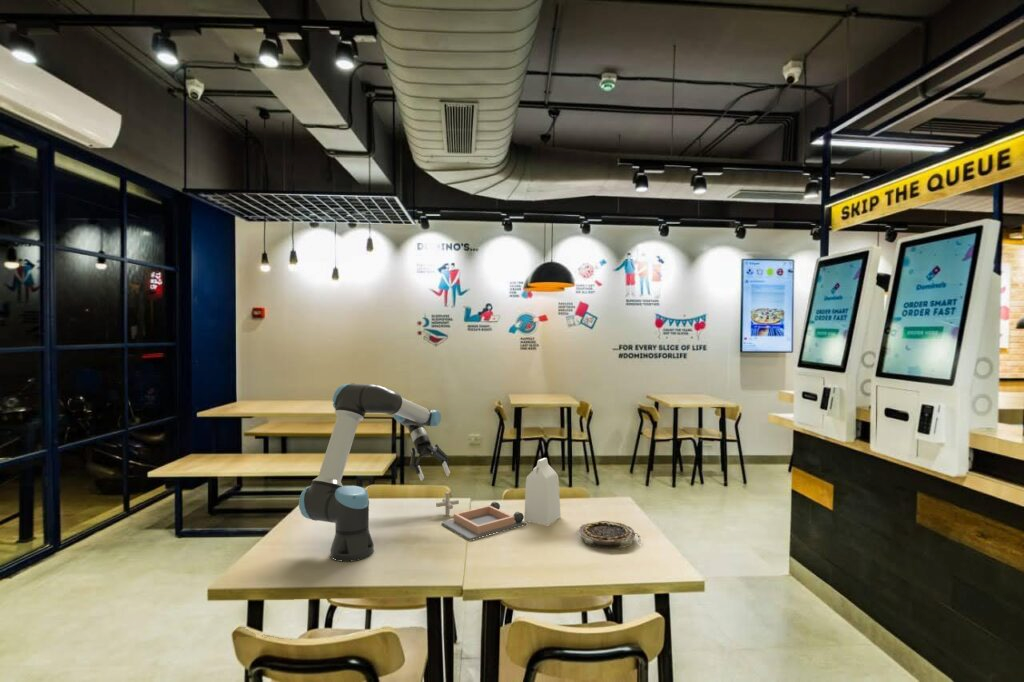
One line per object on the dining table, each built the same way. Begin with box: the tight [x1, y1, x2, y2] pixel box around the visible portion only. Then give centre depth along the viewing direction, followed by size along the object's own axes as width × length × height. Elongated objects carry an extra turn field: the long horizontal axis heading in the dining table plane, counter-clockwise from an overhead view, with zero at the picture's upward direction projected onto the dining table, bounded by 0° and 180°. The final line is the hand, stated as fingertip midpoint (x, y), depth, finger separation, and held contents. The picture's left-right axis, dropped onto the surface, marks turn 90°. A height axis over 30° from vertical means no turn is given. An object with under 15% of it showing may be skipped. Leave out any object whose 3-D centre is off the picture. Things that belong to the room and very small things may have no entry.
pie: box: [578, 520, 643, 549], centre depth 197 cm, size 28×27×5 cm
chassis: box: [441, 501, 527, 541], centre depth 212 cm, size 28×22×5 cm
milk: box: [523, 457, 562, 527], centre depth 219 cm, size 12×12×26 cm
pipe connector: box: [435, 491, 460, 516], centre depth 225 cm, size 10×10×10 cm
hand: (435, 476), depth 233 cm, fingers open, 13 cm apart
